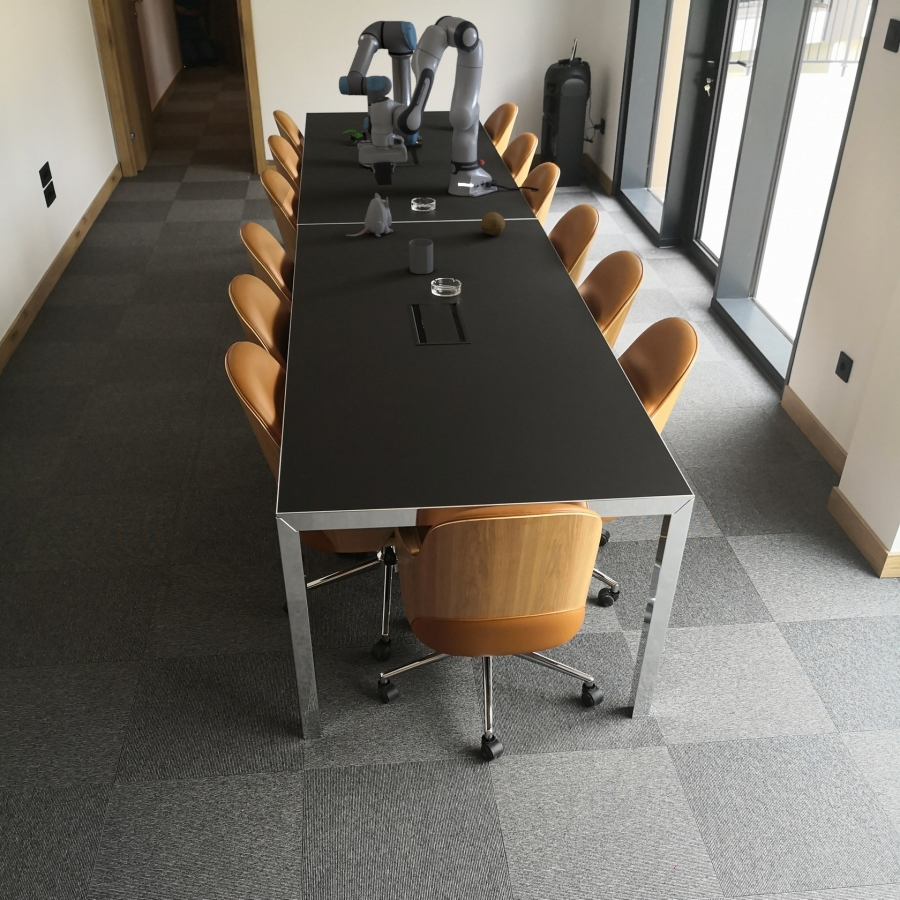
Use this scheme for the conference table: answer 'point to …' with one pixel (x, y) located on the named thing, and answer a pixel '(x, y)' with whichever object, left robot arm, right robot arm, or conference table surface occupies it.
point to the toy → (377, 217)
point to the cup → (421, 256)
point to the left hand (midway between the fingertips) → (379, 170)
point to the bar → (383, 173)
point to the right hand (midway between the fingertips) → (383, 173)
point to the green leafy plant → (354, 137)
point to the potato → (492, 223)
